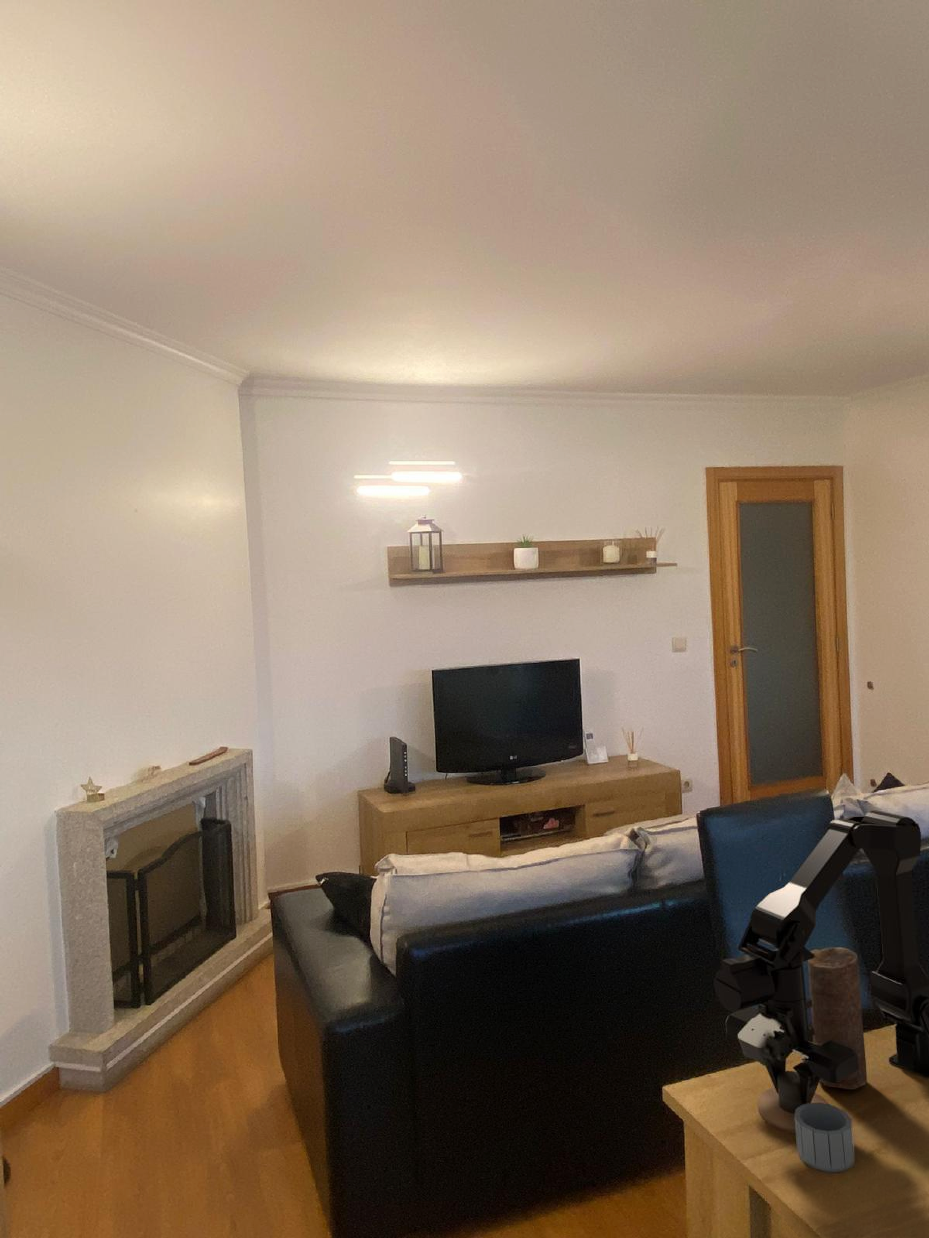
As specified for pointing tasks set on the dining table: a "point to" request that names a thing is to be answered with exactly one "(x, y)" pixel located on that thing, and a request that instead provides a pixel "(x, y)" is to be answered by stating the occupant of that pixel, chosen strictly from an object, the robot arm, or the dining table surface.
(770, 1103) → the lid
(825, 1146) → the pot
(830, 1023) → the candle
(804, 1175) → the dining table surface
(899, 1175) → the dining table surface
